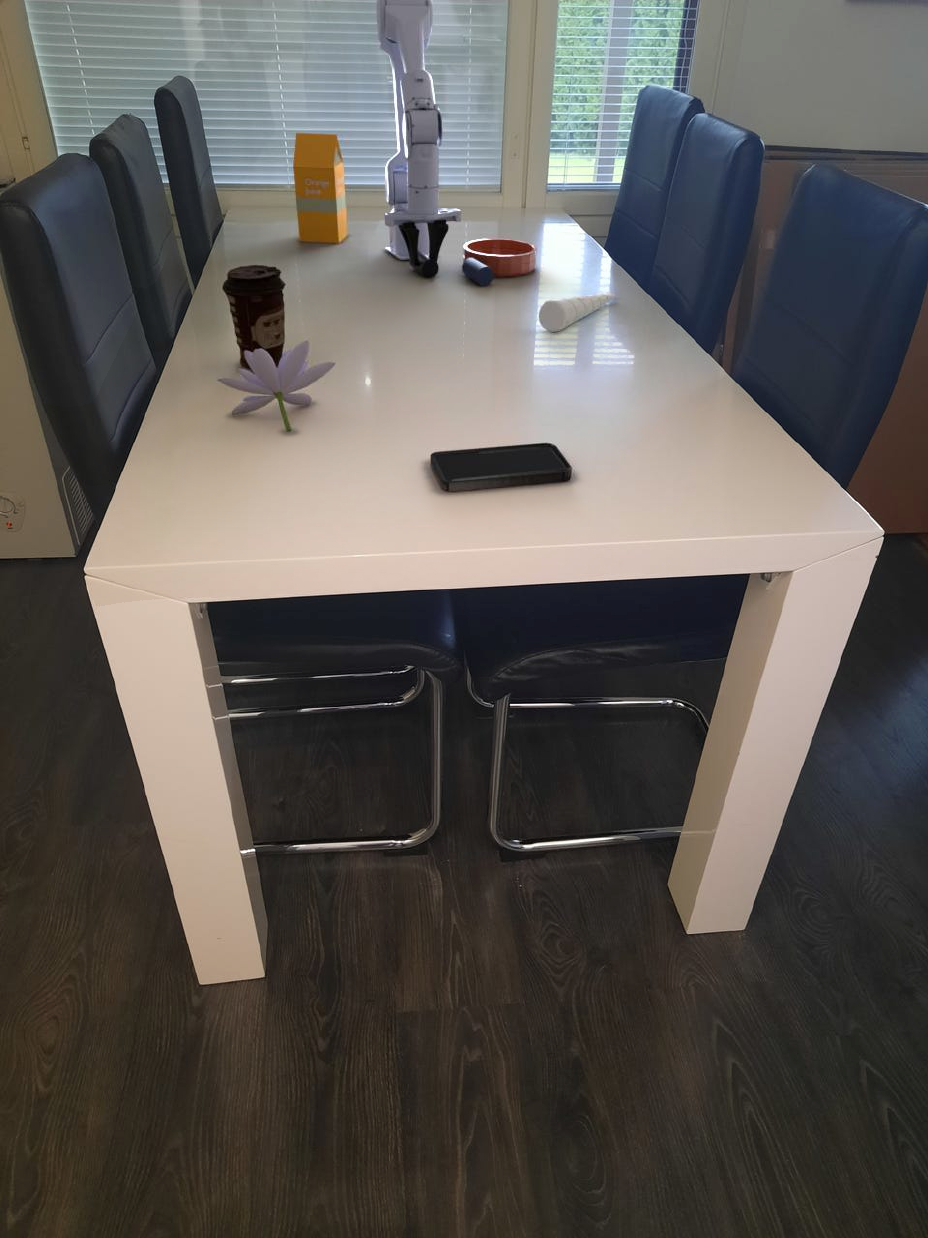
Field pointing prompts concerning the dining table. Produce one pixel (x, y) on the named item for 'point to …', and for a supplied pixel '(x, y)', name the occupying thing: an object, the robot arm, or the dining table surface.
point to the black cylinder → (426, 265)
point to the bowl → (503, 255)
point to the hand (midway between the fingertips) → (423, 263)
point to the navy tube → (477, 271)
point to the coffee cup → (257, 310)
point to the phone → (499, 466)
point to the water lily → (276, 379)
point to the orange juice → (319, 188)
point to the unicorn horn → (569, 310)
